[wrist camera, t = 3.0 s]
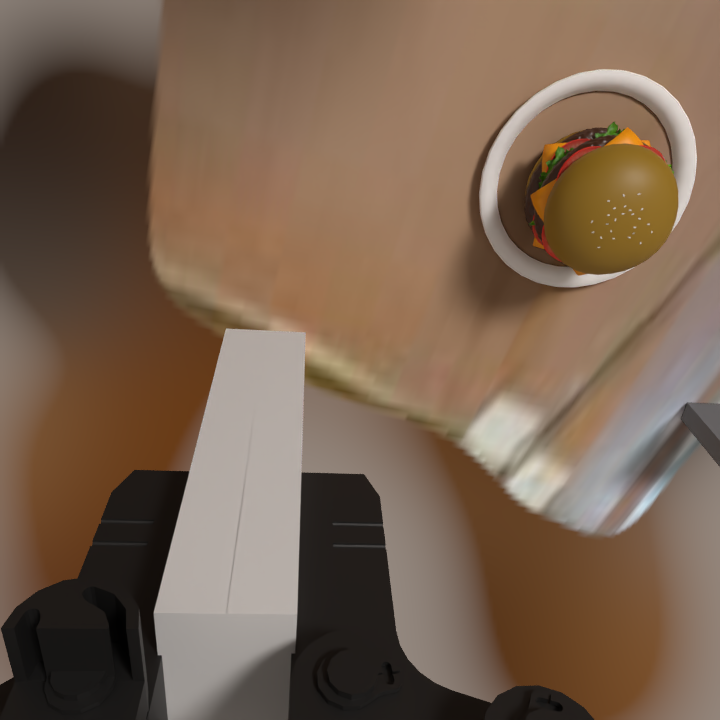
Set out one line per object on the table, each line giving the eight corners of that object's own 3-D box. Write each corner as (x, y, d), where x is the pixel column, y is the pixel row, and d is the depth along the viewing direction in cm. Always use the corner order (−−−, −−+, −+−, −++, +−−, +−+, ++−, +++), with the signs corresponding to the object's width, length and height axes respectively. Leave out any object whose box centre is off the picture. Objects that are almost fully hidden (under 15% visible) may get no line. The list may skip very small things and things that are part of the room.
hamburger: (781, 88, 27) (880, 112, 22) (626, 338, 33) (679, 401, 28) (515, -31, 24) (564, -31, 20) (395, 264, 30) (410, 319, 25)
